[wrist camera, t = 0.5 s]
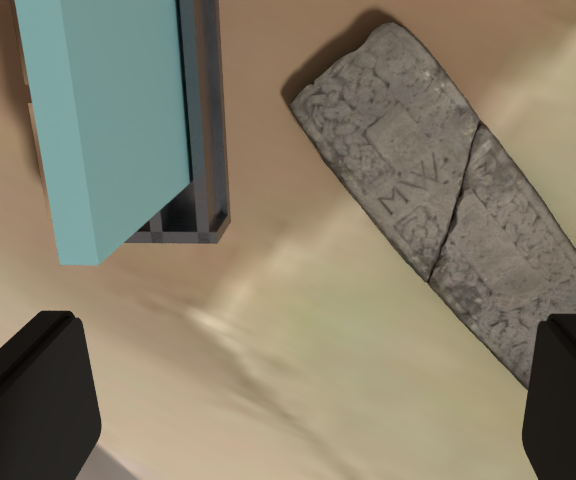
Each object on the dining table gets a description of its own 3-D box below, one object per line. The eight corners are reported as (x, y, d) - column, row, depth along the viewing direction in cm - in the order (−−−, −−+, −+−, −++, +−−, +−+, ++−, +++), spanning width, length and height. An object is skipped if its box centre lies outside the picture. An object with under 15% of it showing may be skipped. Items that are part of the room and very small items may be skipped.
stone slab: (525, 411, 41) (277, 113, 34) (510, 386, 44) (279, 108, 37) (647, 339, 39) (406, 0, 32) (623, 318, 42) (398, 4, 35)
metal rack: (47, -73, 34) (3, -93, 30) (213, -79, 34) (195, -101, 29) (90, 220, 41) (59, 242, 36) (230, 221, 40) (217, 243, 35)
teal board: (164, -10, 34) (1, -78, 17) (188, -11, 34) (48, -79, 17) (180, 172, 38) (59, 264, 21) (201, 172, 38) (98, 265, 21)
